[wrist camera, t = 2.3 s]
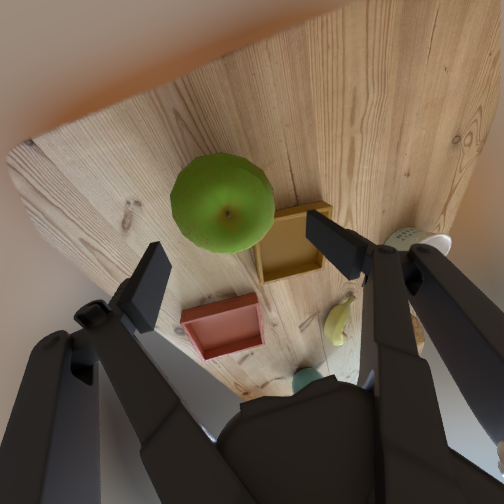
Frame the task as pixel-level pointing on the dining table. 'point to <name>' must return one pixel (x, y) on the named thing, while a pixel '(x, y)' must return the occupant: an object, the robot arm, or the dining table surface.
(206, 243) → the apple
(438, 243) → the food container
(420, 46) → the dining table surface
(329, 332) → the banana
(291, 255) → the ochre tray
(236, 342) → the clay tray
